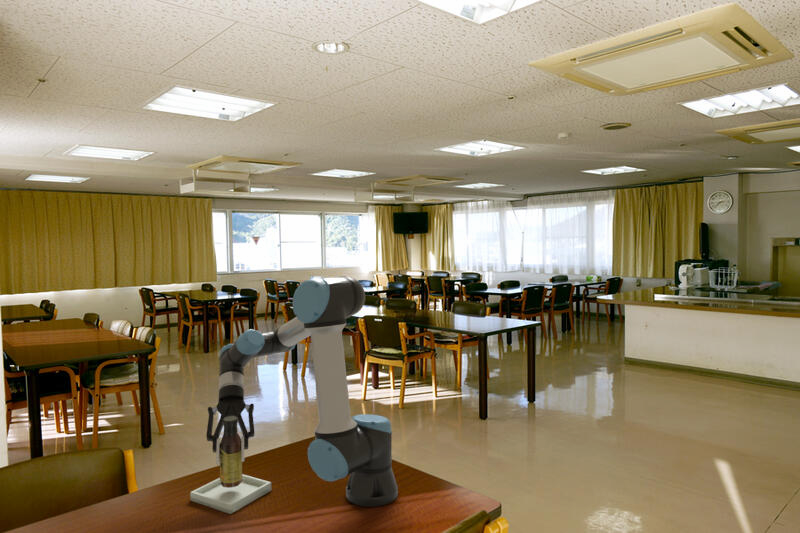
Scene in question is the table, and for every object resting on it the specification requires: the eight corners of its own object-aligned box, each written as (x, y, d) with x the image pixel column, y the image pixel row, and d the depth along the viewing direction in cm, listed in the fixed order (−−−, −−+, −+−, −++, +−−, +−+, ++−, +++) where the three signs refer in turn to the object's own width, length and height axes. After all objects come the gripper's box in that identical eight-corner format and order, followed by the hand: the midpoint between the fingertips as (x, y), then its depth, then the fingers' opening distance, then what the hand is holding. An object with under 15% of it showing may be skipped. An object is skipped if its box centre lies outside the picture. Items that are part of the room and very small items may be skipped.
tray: (271, 490, 159) (271, 482, 159) (230, 514, 145) (230, 505, 145) (232, 479, 166) (232, 471, 166) (190, 500, 152) (190, 492, 152)
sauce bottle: (222, 479, 159) (222, 414, 158) (244, 478, 159) (243, 413, 158) (217, 489, 152) (216, 421, 151) (240, 488, 153) (239, 420, 152)
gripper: (262, 393, 172) (264, 462, 157) (199, 398, 167) (195, 470, 152) (262, 381, 167) (265, 451, 152) (198, 385, 162) (193, 459, 147)
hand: (230, 460), depth 152 cm, fingers closed on sauce bottle, 6 cm apart
